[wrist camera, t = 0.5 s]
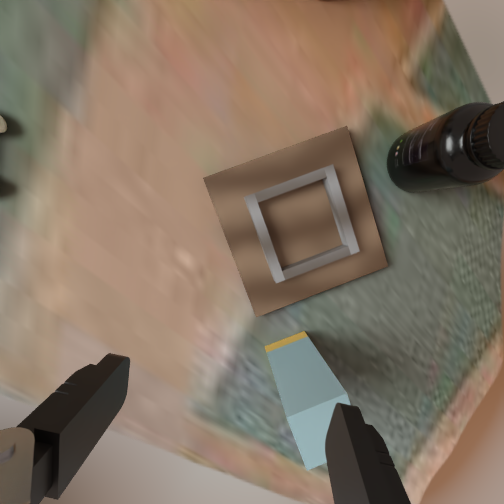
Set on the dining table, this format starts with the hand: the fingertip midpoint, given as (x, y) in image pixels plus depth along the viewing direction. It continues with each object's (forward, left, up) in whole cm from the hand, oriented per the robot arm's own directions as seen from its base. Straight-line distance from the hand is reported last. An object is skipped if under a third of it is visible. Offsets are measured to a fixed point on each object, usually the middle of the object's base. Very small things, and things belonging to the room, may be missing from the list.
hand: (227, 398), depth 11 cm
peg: (+7, +11, -22) cm, 25 cm away
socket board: (-8, +6, -22) cm, 24 cm away
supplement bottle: (-19, +16, -22) cm, 33 cm away
